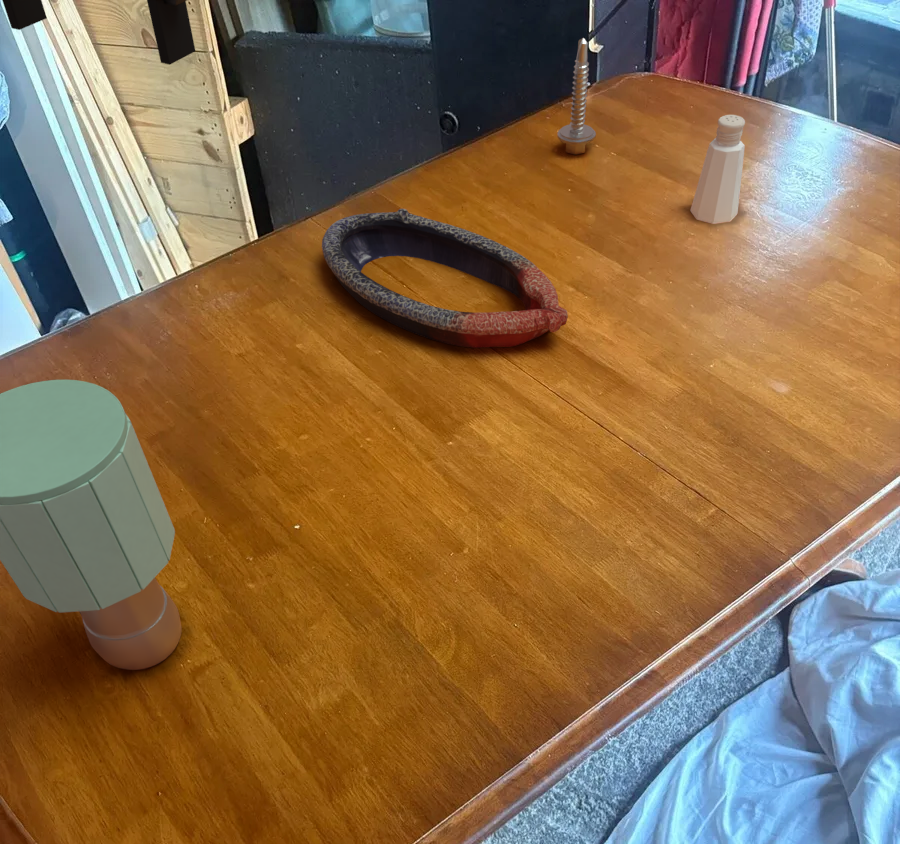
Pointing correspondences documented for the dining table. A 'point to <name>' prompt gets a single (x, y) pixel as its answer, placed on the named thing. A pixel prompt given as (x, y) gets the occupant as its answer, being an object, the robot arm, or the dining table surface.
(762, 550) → the dining table surface
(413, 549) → the dining table surface
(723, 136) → the salt shaker
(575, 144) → the screw
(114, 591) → the green ribbed canister
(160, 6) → the robot arm
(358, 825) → the dining table surface
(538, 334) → the grey speckled oval ring
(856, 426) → the dining table surface
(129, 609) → the plastic bottle
